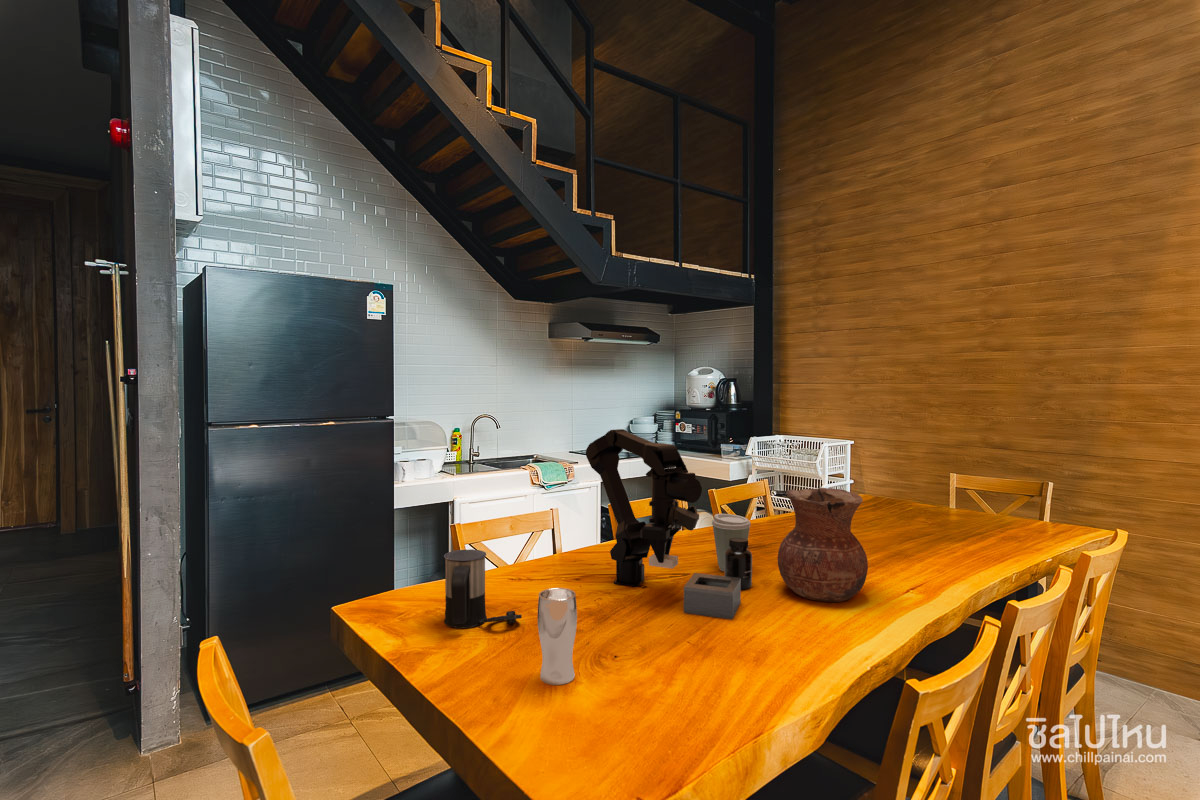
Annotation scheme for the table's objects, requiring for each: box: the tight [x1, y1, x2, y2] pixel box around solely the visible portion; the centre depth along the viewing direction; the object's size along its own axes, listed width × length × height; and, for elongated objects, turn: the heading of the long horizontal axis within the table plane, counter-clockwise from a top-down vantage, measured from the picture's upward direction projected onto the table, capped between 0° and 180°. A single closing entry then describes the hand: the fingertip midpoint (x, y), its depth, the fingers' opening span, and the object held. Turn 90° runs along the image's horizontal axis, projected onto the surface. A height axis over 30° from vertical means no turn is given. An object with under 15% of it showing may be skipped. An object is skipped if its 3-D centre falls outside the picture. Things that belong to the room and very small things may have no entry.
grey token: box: [648, 553, 679, 569], centre depth 155 cm, size 6×4×2 cm, turn 64°
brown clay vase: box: [776, 487, 869, 603], centre depth 157 cm, size 22×21×25 cm
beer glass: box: [537, 587, 578, 686], centre depth 113 cm, size 7×7×15 cm
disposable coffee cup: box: [711, 513, 751, 573], centre depth 176 cm, size 11×11×15 cm
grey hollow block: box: [683, 572, 742, 620], centre depth 147 cm, size 11×11×6 cm
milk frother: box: [443, 548, 523, 629], centre depth 138 cm, size 14×16×15 cm
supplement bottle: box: [724, 538, 753, 591], centre depth 163 cm, size 7×7×12 cm
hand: (663, 560), depth 155 cm, fingers closed on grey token, 4 cm apart
